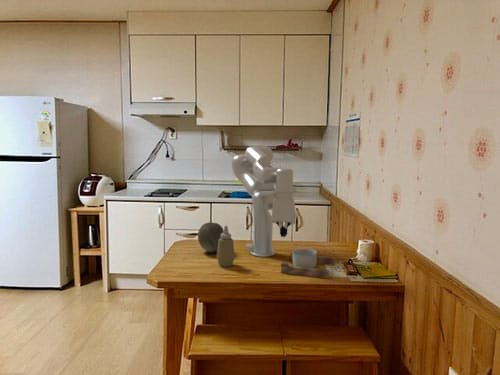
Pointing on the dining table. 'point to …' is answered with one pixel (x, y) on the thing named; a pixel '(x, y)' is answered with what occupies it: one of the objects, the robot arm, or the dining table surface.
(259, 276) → the dining table surface
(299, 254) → the teacup
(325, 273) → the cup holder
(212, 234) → the cantaloupe
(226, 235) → the squeeze bottle
